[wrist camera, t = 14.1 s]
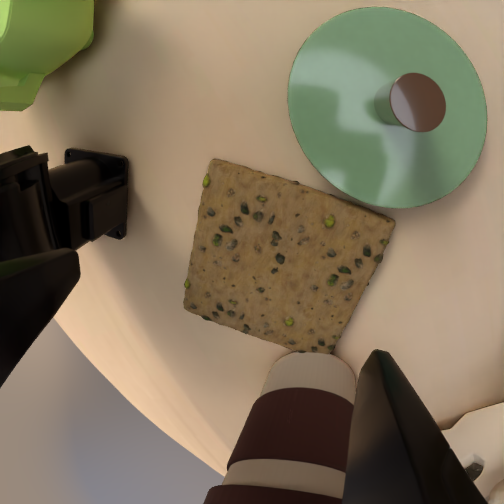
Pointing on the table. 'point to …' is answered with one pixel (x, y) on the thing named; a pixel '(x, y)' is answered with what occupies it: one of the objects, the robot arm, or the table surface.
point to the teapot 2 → (38, 44)
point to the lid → (387, 107)
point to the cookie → (280, 258)
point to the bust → (497, 494)
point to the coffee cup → (294, 436)
